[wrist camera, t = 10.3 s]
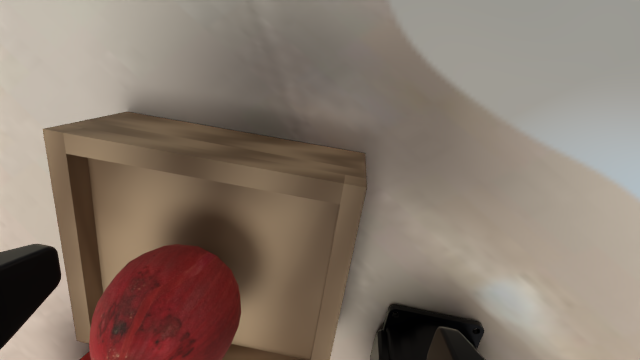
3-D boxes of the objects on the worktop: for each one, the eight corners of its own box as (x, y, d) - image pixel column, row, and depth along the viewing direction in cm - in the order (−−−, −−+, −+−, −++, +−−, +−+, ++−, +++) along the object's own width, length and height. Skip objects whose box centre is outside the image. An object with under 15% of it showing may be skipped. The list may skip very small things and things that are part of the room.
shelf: (365, 153, 19) (366, 187, 14) (330, 320, 24) (322, 395, 18) (126, 111, 20) (42, 128, 15) (138, 280, 25) (76, 340, 19)
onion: (150, 214, 17) (-12, 332, 10) (256, 219, 16) (172, 350, 9) (167, 302, 19) (44, 459, 11) (263, 310, 18) (198, 480, 11)
